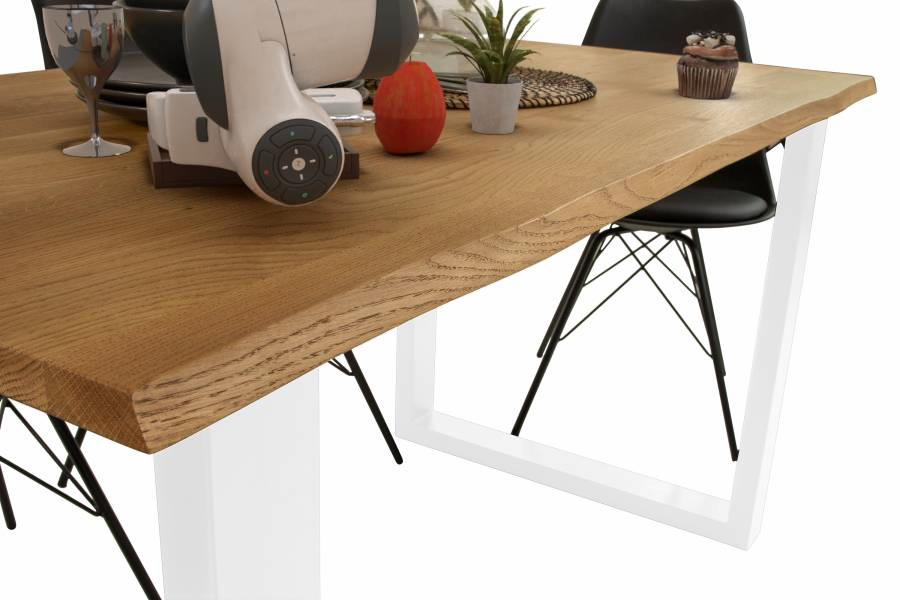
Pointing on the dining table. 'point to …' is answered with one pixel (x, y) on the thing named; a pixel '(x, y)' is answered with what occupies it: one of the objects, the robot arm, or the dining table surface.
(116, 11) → the wine glass
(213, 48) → the robot arm
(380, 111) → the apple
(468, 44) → the house plant
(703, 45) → the cupcake
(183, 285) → the dining table surface
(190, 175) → the tray
